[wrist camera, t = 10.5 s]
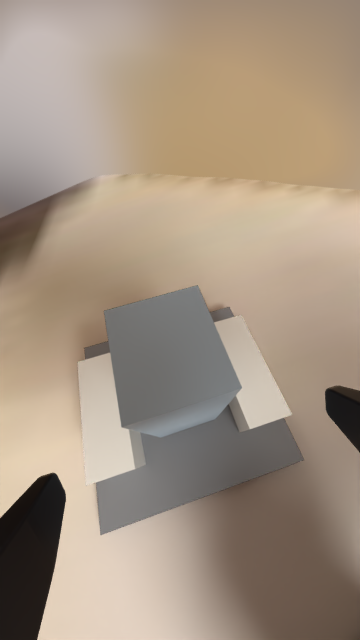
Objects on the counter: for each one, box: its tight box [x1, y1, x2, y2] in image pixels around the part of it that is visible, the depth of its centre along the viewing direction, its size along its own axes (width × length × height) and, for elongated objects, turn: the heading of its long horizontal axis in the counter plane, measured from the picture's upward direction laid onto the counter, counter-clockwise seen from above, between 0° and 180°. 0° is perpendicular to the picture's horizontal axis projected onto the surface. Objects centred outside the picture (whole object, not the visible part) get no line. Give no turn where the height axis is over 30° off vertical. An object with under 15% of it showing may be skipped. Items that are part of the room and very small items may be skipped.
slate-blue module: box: [104, 285, 242, 438], centre depth 14 cm, size 5×4×11 cm
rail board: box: [77, 307, 304, 535], centre depth 18 cm, size 14×15×4 cm
